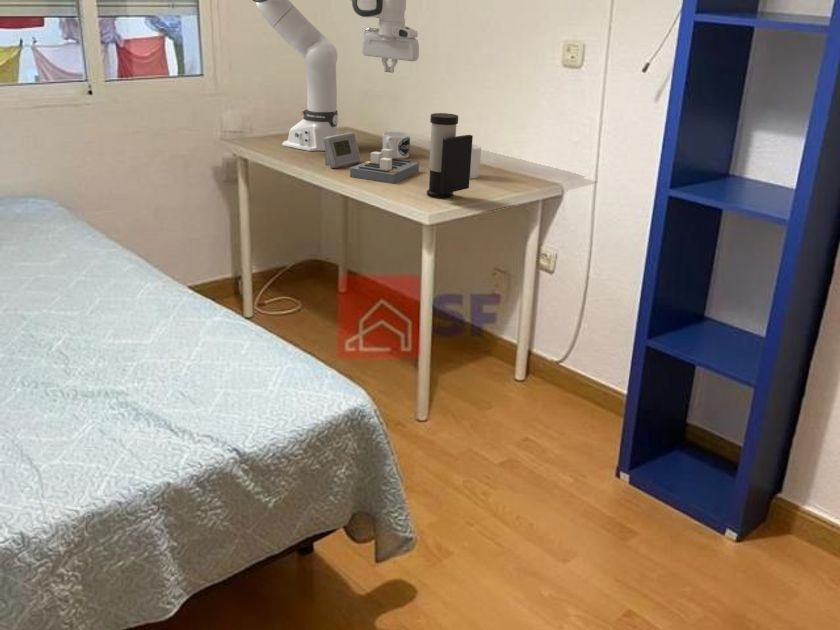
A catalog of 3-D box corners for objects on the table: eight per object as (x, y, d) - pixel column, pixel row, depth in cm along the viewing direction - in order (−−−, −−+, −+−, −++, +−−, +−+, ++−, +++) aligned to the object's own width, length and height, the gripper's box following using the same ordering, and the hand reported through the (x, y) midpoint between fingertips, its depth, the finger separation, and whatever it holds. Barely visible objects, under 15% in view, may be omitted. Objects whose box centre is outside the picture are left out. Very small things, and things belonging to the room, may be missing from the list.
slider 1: (370, 163, 278) (370, 152, 277) (374, 161, 280) (374, 151, 279) (378, 164, 277) (378, 154, 276) (382, 162, 279) (382, 152, 278)
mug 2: (442, 173, 284) (443, 144, 280) (457, 170, 290) (459, 141, 286) (468, 180, 277) (471, 149, 273) (483, 176, 282) (486, 147, 278)
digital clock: (331, 170, 281) (331, 139, 277) (315, 165, 287) (315, 134, 283) (367, 164, 292) (367, 134, 287) (350, 160, 297) (351, 130, 293)
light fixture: (442, 189, 262) (447, 111, 253) (468, 196, 256) (474, 116, 246) (416, 195, 254) (420, 115, 245) (443, 202, 247) (448, 120, 238)
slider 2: (380, 159, 284) (381, 149, 282) (384, 158, 286) (384, 148, 285) (388, 160, 283) (388, 150, 281) (392, 159, 285) (392, 149, 284)
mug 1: (389, 151, 314) (389, 130, 311) (414, 155, 310) (415, 133, 307) (373, 157, 303) (374, 135, 300) (399, 161, 299) (400, 139, 296)
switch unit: (350, 176, 273) (350, 166, 271) (377, 165, 291) (378, 155, 289) (393, 183, 267) (393, 172, 266) (418, 171, 285) (419, 161, 284)
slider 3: (379, 169, 270) (379, 159, 268) (383, 167, 272) (383, 157, 271) (387, 170, 268) (388, 160, 267) (391, 169, 271) (392, 158, 270)
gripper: (360, 27, 278) (358, 69, 283) (414, 33, 271) (411, 76, 276) (368, 26, 283) (366, 68, 289) (422, 32, 276) (419, 74, 282)
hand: (389, 72), depth 282 cm, fingers closed
